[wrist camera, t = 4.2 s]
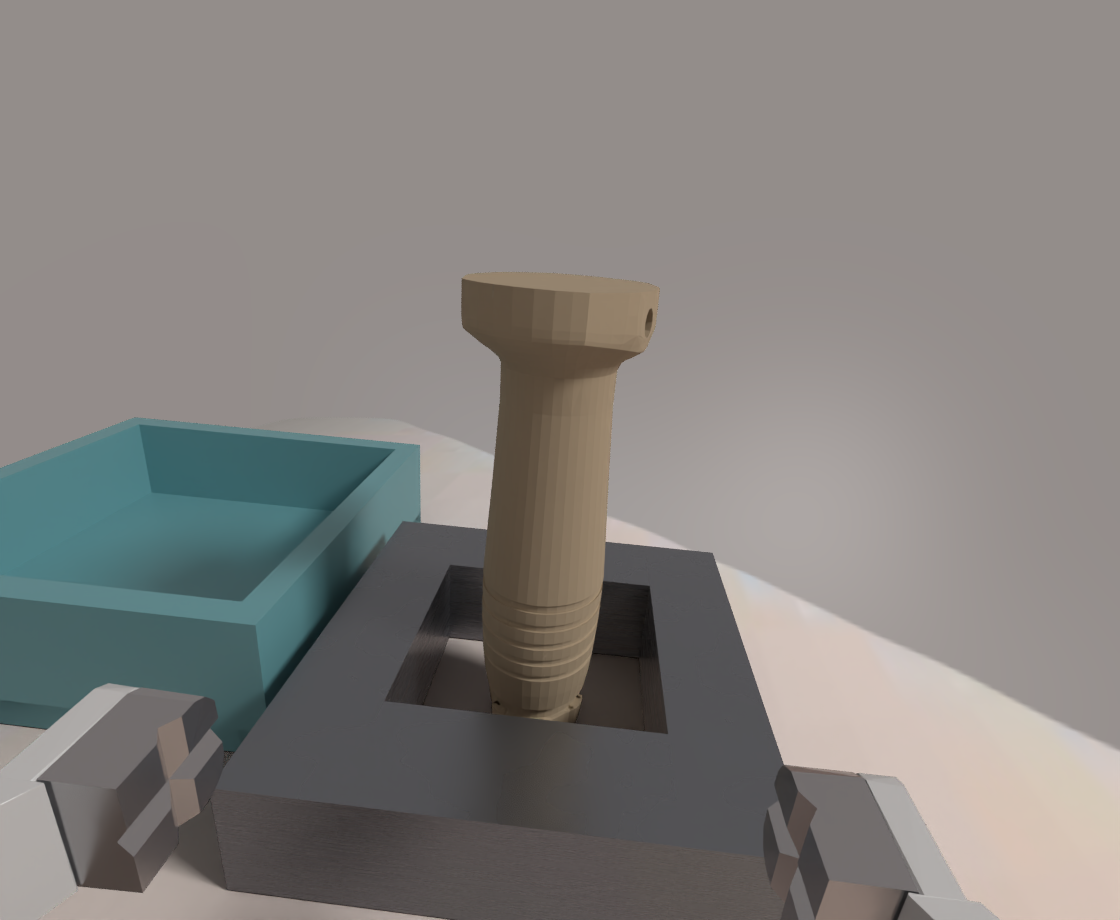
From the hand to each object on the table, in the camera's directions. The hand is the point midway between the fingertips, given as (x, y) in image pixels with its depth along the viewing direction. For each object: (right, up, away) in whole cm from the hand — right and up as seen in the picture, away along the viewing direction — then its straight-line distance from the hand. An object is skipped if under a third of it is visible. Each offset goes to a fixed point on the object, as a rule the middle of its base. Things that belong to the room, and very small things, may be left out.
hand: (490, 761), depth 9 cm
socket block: (0, -5, +13) cm, 14 cm away
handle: (0, -5, +13) cm, 14 cm away
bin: (-15, -2, +18) cm, 24 cm away
